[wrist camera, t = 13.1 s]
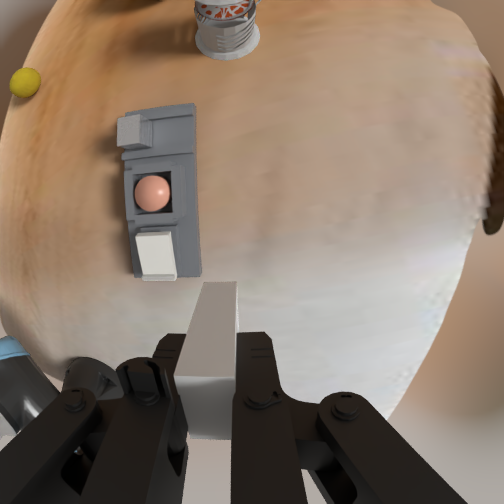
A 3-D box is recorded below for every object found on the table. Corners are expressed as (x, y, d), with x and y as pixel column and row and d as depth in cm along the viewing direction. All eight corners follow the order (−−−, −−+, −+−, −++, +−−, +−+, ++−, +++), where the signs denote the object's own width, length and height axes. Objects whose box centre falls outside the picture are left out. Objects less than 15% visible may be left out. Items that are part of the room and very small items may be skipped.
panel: (138, 273, 39) (127, 284, 35) (130, 115, 33) (116, 108, 28) (201, 272, 40) (196, 284, 35) (196, 106, 34) (190, 96, 29)
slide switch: (132, 150, 33) (116, 146, 28) (132, 125, 32) (117, 118, 27) (152, 147, 33) (139, 142, 28) (152, 122, 32) (139, 114, 27)
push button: (143, 209, 35) (135, 212, 32) (142, 177, 34) (133, 177, 31) (174, 207, 35) (168, 210, 32) (173, 174, 34) (167, 174, 31)
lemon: (51, 71, 29) (26, 60, 22) (43, 99, 31) (16, 91, 23) (33, 76, 29) (8, 66, 21) (25, 102, 30) (-2, 95, 23)
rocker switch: (147, 276, 36) (143, 283, 34) (138, 232, 33) (133, 238, 31) (177, 275, 36) (174, 283, 34) (170, 231, 33) (167, 237, 31)
